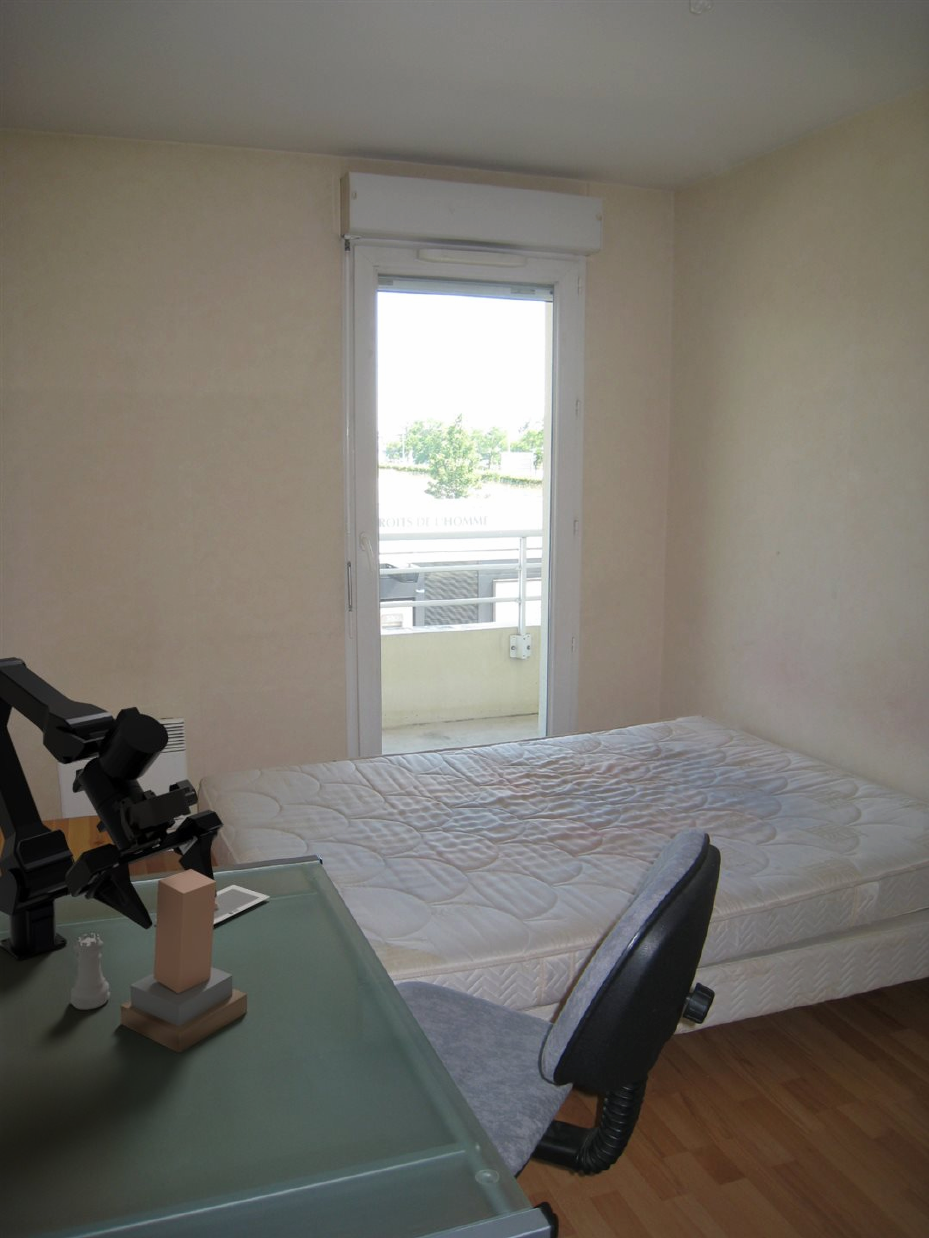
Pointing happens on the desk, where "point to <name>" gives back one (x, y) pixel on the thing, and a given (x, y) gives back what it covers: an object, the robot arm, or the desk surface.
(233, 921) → the desk surface
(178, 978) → the pillar
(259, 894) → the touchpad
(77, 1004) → the rook chess piece
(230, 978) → the tower top
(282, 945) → the desk surface
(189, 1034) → the tower base
